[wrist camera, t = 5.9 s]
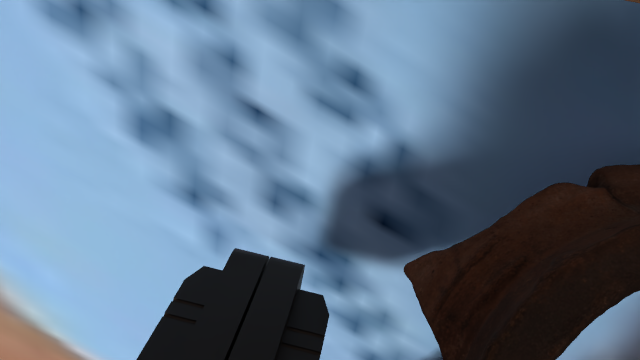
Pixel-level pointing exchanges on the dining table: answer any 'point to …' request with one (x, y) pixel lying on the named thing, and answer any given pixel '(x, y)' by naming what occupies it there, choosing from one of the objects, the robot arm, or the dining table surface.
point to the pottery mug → (535, 271)
